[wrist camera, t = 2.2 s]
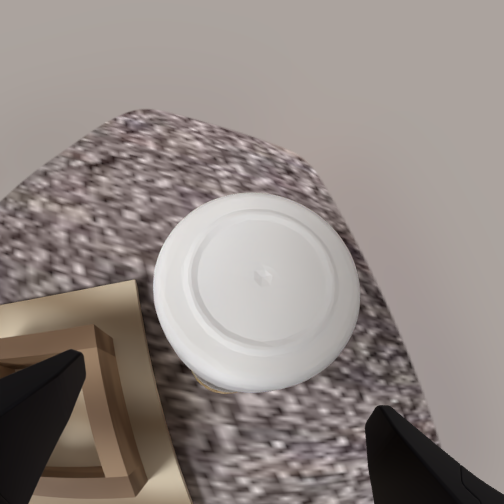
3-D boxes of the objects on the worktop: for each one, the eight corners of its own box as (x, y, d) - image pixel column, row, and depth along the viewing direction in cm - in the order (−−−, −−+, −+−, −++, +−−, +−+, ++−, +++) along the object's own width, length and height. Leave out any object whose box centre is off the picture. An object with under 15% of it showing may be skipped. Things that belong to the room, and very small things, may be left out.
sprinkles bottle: (220, 309, 19) (247, 155, 8) (276, 354, 19) (397, 265, 7) (172, 362, 17) (103, 281, 6) (230, 410, 17) (287, 439, 5)
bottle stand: (199, 518, 13) (198, 547, 9) (27, 518, 10) (-3, 533, 6) (137, 284, 19) (122, 255, 16) (-13, 312, 16) (-46, 291, 12)
